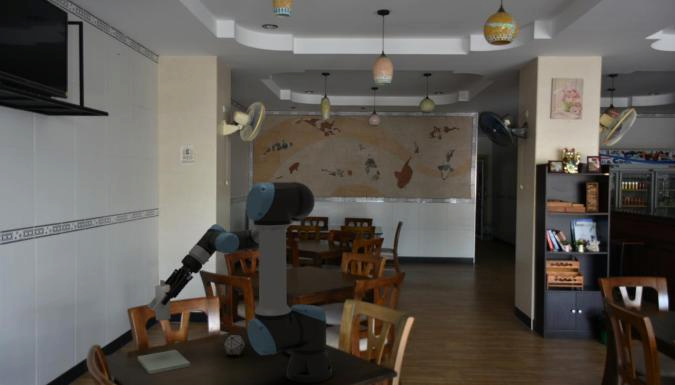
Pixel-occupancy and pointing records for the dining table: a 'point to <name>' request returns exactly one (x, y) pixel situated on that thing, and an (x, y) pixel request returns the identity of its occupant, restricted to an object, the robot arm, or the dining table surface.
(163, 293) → the grey bottle
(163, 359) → the sage board
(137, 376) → the dining table surface
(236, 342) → the game die
